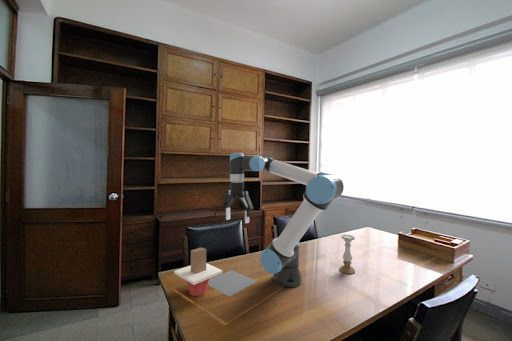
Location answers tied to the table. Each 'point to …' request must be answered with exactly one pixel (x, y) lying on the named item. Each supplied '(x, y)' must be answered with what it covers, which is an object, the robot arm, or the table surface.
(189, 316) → the table surface
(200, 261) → the lid
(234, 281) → the mat
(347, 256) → the candle holder
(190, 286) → the flower pot
